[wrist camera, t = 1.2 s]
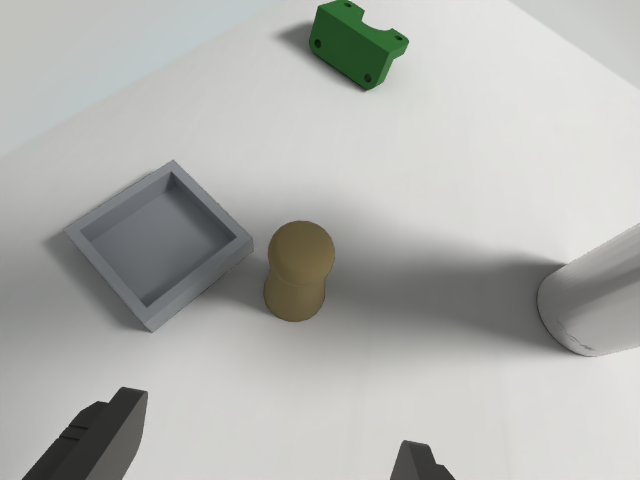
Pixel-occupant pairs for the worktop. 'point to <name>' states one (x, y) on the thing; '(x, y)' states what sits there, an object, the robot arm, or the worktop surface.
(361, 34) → the clamp
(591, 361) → the worktop surface
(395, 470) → the robot arm
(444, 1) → the worktop surface
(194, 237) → the tray
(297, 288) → the cork
